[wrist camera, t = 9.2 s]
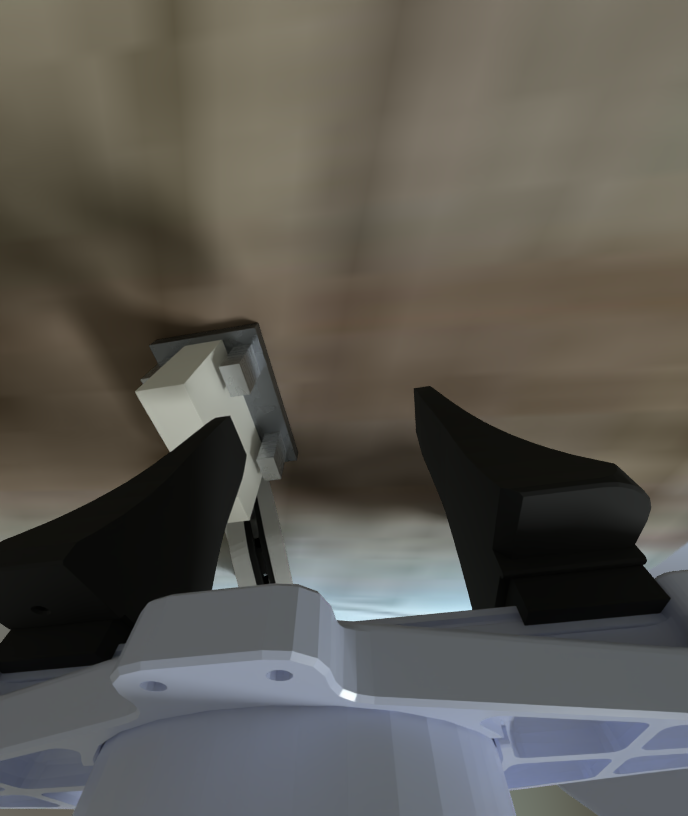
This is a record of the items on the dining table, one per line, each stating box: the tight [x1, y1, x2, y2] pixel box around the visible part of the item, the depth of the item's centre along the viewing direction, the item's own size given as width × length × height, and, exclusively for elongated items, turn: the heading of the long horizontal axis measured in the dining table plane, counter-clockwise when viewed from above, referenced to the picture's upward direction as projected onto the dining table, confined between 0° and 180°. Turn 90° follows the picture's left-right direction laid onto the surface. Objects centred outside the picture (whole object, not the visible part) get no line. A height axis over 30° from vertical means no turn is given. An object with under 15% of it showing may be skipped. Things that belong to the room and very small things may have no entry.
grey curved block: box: [225, 475, 293, 587], centre depth 29 cm, size 17×5×10 cm, turn 1°
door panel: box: [135, 340, 262, 523], centre depth 21 cm, size 3×10×6 cm, turn 9°
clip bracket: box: [140, 323, 298, 481], centre depth 22 cm, size 7×11×4 cm, turn 9°
